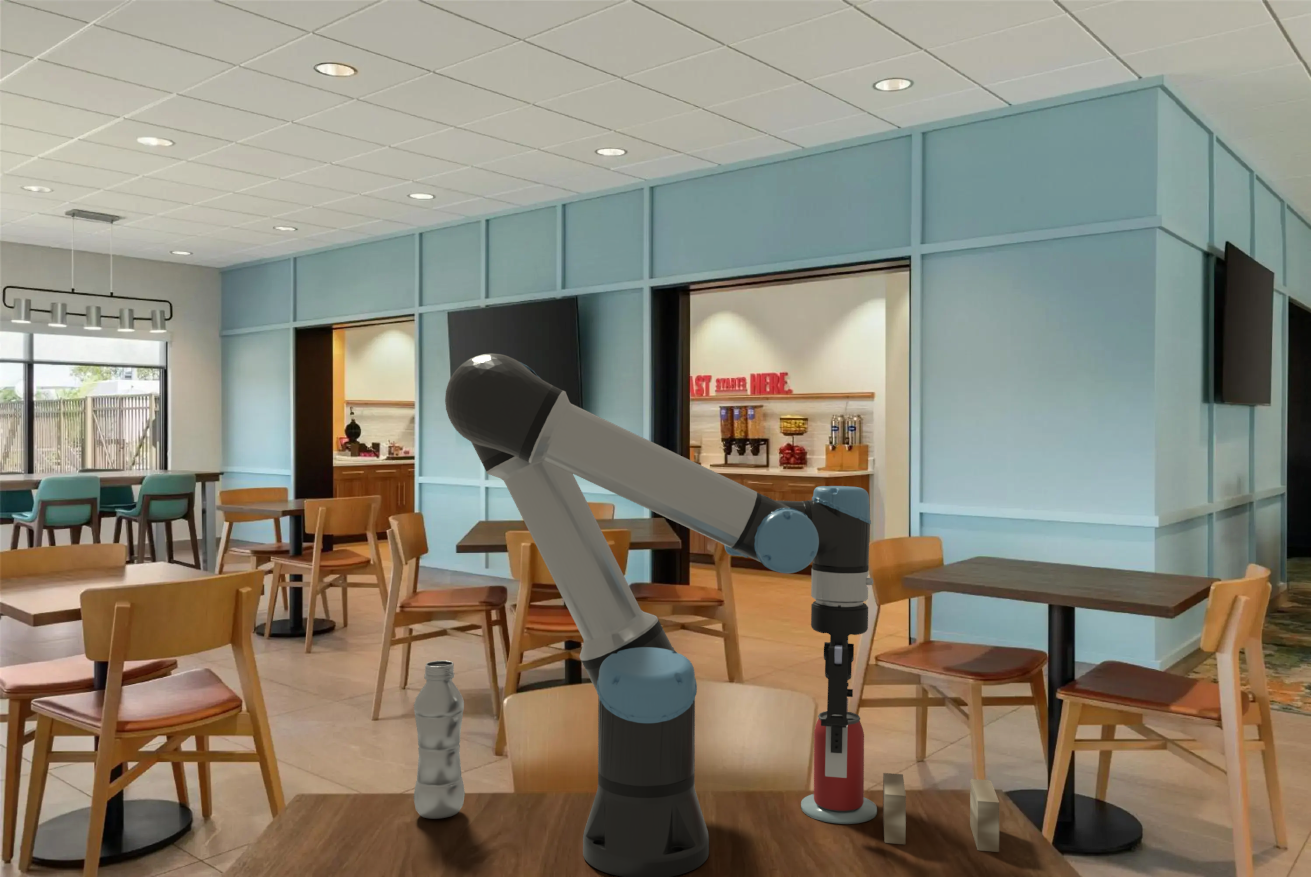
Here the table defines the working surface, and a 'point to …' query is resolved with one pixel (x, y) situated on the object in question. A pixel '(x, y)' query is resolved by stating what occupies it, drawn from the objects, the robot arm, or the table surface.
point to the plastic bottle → (439, 743)
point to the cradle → (981, 812)
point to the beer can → (848, 790)
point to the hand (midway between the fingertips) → (836, 759)
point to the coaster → (857, 816)
